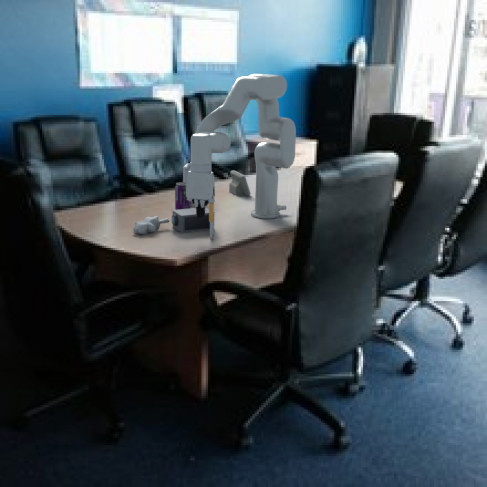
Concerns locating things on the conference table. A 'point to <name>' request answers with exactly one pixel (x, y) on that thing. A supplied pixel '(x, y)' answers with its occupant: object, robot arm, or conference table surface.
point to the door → (211, 218)
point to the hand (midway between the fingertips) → (200, 216)
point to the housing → (190, 220)
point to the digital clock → (238, 184)
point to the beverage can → (181, 197)
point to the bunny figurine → (149, 225)
